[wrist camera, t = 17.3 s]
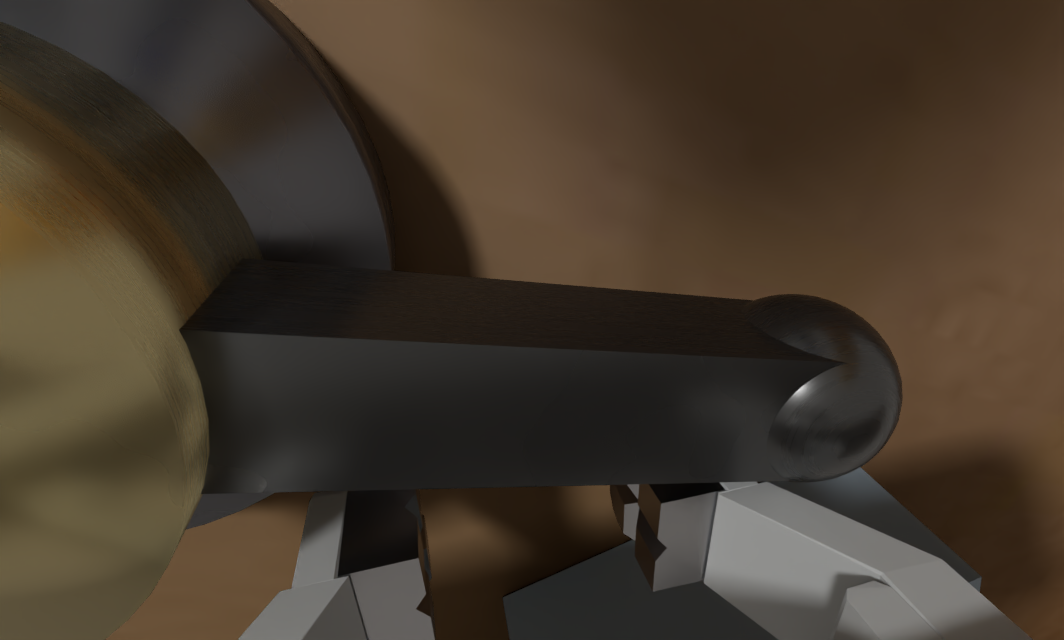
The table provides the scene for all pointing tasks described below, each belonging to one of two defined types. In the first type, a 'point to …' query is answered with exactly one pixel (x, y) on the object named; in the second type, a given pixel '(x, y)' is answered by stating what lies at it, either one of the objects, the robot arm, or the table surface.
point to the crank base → (242, 125)
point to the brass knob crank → (334, 364)
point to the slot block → (694, 609)
